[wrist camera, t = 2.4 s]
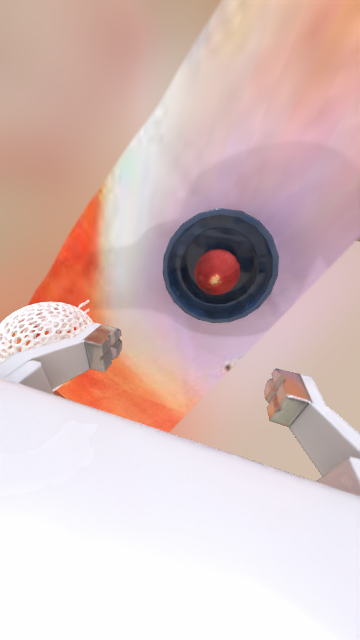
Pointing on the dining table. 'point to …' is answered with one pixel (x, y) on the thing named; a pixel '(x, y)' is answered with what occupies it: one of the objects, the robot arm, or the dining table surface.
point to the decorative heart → (41, 326)
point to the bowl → (231, 235)
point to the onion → (217, 271)
